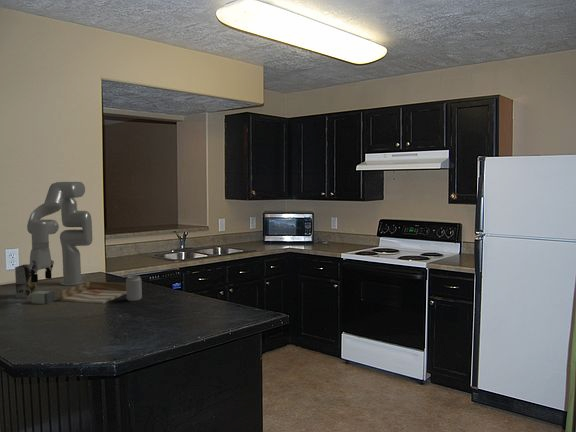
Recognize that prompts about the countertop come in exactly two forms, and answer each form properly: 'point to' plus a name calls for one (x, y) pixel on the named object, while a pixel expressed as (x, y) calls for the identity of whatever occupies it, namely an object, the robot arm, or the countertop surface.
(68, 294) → the corner guide
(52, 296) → the block
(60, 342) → the countertop surface
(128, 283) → the can
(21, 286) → the coffee box
